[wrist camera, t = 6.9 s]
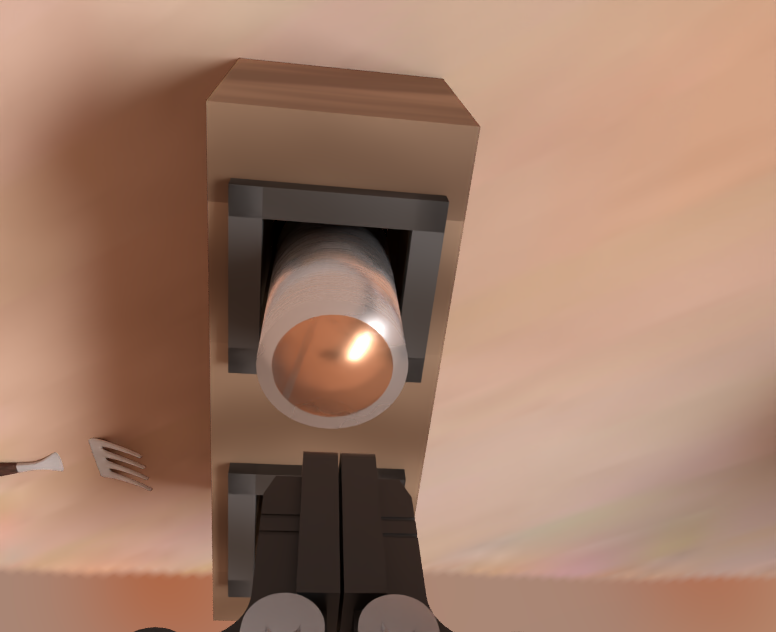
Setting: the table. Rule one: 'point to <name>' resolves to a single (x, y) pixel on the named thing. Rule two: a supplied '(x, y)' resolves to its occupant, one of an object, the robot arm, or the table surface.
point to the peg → (332, 326)
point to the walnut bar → (329, 206)
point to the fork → (100, 457)
